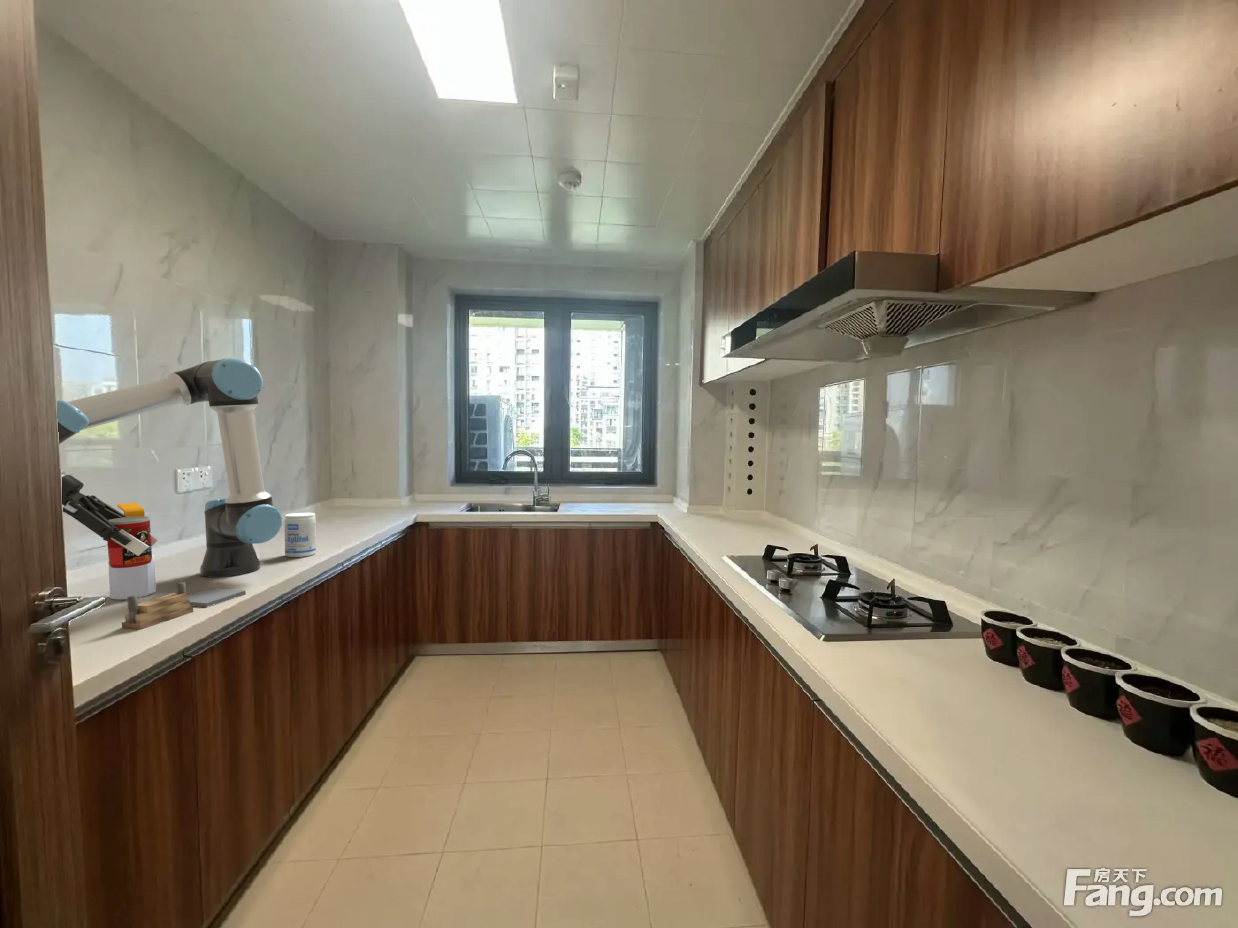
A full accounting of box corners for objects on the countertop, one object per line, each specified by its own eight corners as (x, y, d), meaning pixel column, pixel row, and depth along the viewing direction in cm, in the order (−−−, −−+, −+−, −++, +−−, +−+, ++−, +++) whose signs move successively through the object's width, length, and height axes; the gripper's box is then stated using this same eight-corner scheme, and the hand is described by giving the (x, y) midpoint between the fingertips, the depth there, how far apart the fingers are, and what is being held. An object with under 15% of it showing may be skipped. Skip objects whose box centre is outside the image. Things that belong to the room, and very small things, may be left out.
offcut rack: (177, 610, 130) (175, 581, 129) (194, 611, 129) (192, 582, 128) (120, 628, 118) (119, 596, 117) (139, 629, 117) (137, 598, 116)
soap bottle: (145, 588, 148) (141, 500, 146) (162, 592, 144) (158, 502, 142) (103, 597, 140) (98, 504, 138) (120, 602, 136) (115, 506, 134)
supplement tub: (286, 559, 183) (284, 517, 182) (284, 554, 191) (282, 513, 190) (318, 555, 188) (317, 514, 188) (315, 550, 196) (313, 511, 195)
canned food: (126, 569, 123) (123, 522, 122) (99, 567, 124) (96, 521, 124) (161, 561, 130) (158, 516, 130) (135, 559, 132) (132, 515, 131)
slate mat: (211, 591, 145) (211, 588, 145) (245, 594, 143) (245, 590, 143) (170, 604, 134) (170, 600, 134) (207, 606, 132) (206, 603, 132)
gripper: (55, 493, 128) (147, 551, 137) (12, 503, 110) (121, 569, 119) (84, 470, 130) (172, 528, 139) (46, 476, 112) (150, 543, 121)
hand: (148, 547), depth 129 cm, fingers closed on canned food, 8 cm apart
